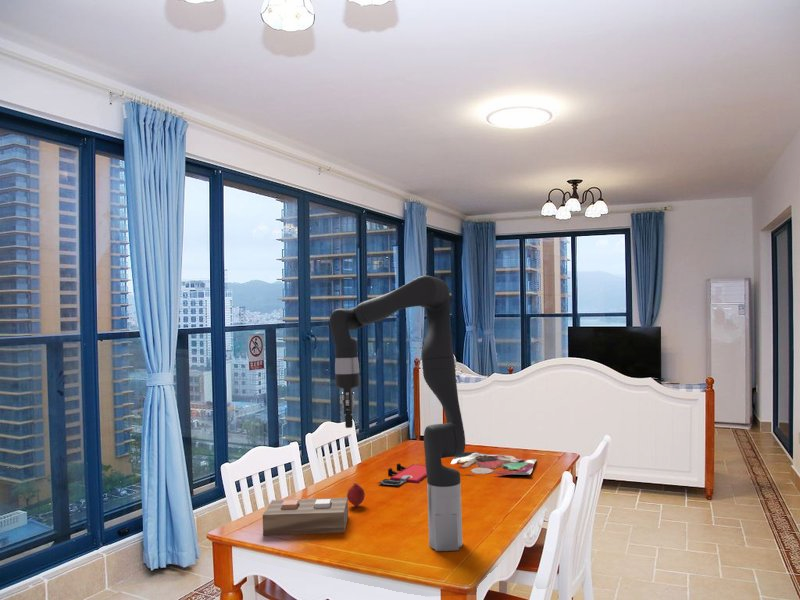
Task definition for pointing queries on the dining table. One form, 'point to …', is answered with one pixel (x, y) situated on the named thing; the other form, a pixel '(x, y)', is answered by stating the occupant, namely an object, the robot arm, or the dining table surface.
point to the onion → (355, 495)
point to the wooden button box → (305, 518)
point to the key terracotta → (290, 504)
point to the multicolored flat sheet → (494, 463)
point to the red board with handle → (406, 475)
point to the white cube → (323, 503)
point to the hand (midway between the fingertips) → (349, 427)
